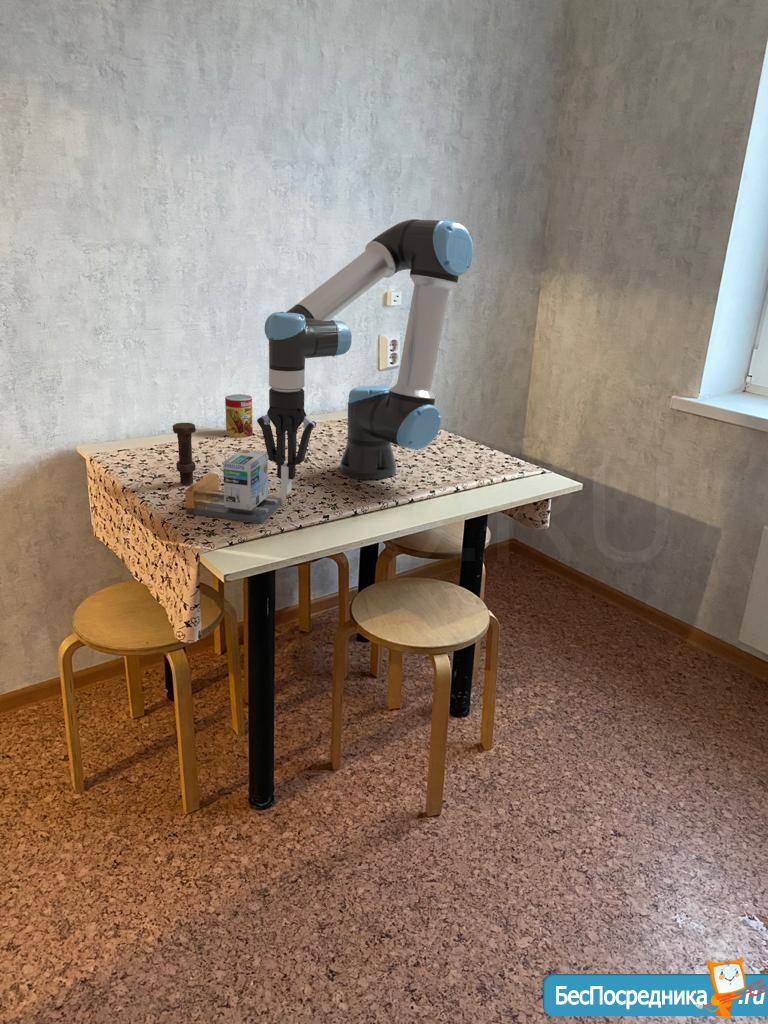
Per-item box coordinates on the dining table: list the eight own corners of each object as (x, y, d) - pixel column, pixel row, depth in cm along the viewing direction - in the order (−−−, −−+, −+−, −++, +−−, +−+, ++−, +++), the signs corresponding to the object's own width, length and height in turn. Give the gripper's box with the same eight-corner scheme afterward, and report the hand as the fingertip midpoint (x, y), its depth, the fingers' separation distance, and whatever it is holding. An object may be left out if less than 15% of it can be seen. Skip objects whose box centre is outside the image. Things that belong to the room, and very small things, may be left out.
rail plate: (281, 504, 182) (281, 482, 180) (261, 523, 170) (261, 500, 168) (210, 495, 185) (210, 473, 183) (186, 513, 173) (185, 490, 171)
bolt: (183, 488, 188) (180, 429, 183) (170, 483, 191) (167, 425, 186) (202, 483, 193) (200, 425, 187) (189, 478, 196) (187, 421, 190)
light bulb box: (251, 511, 171) (250, 465, 167) (223, 507, 172) (221, 461, 168) (269, 495, 180) (268, 451, 177) (242, 492, 182) (241, 448, 178)
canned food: (250, 440, 230) (249, 400, 226) (223, 438, 230) (222, 399, 226) (254, 433, 238) (254, 394, 233) (229, 431, 238) (228, 393, 233)
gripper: (321, 387, 167) (319, 490, 175) (264, 381, 169) (265, 483, 178) (310, 394, 160) (308, 501, 168) (251, 388, 162) (252, 493, 171)
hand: (286, 492), depth 173 cm, fingers closed
